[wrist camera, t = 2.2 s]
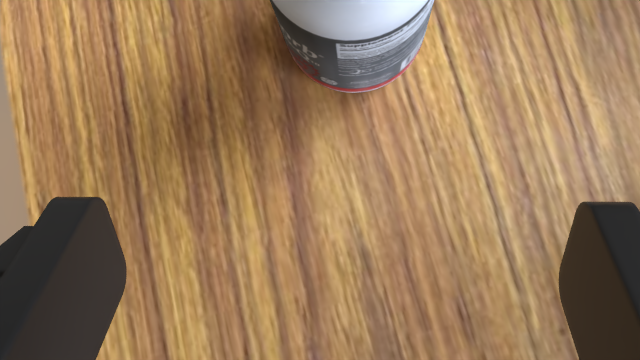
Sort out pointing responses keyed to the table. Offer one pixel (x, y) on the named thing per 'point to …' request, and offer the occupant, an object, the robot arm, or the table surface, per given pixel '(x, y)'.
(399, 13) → the pill bottle
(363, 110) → the table surface
